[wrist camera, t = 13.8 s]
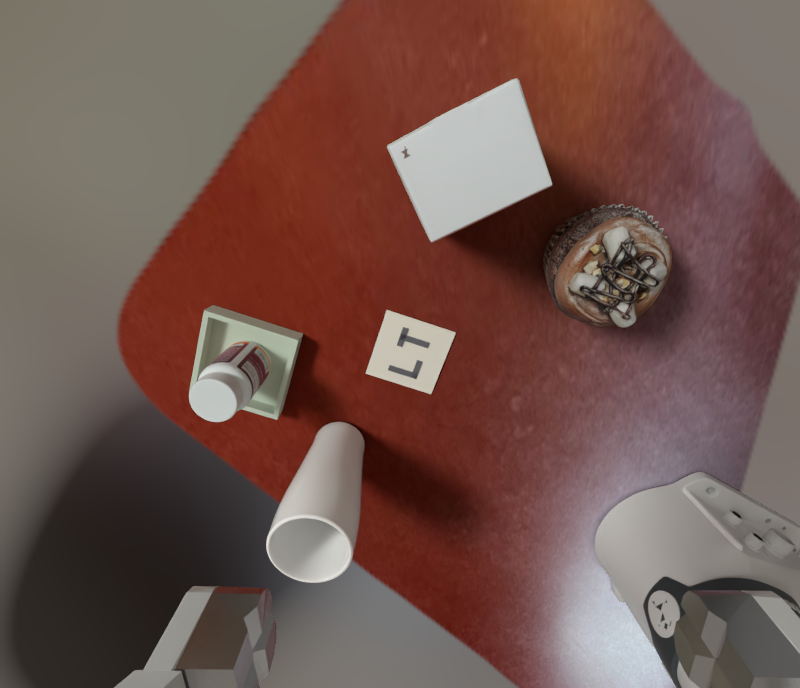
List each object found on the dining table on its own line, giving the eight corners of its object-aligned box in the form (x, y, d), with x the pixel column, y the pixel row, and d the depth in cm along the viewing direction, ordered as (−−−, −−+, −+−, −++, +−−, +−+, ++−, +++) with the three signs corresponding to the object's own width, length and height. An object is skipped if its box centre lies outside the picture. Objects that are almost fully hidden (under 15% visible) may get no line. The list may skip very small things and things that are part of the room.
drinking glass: (356, 404, 46) (330, 503, 32) (382, 456, 48) (368, 571, 34) (298, 425, 47) (248, 530, 33) (326, 475, 49) (290, 594, 35)
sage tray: (303, 333, 43) (298, 340, 41) (282, 410, 46) (277, 419, 44) (212, 304, 42) (204, 310, 41) (197, 384, 45) (188, 393, 44)
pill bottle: (220, 374, 45) (178, 415, 37) (231, 332, 43) (189, 366, 35) (266, 390, 45) (234, 434, 37) (278, 349, 43) (247, 386, 36)
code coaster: (455, 332, 43) (455, 332, 43) (431, 393, 45) (431, 394, 45) (386, 309, 42) (386, 309, 42) (365, 373, 44) (365, 373, 44)
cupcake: (604, 323, 42) (659, 364, 33) (512, 284, 41) (542, 315, 32) (662, 228, 39) (742, 243, 29) (565, 182, 38) (615, 183, 28)
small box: (424, 225, 39) (428, 246, 27) (393, 156, 37) (383, 143, 25) (510, 184, 38) (556, 185, 26) (482, 109, 36) (518, 72, 24)
